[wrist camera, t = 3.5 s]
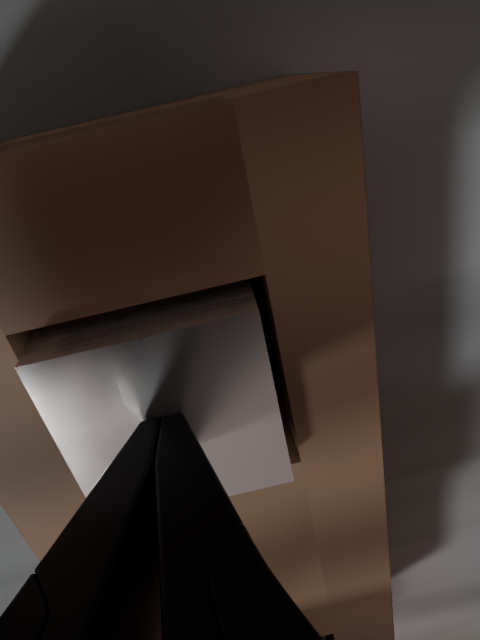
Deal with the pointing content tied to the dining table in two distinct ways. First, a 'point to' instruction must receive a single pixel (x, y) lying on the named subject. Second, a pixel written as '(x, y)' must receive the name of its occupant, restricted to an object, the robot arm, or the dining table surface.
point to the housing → (210, 271)
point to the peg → (163, 384)
